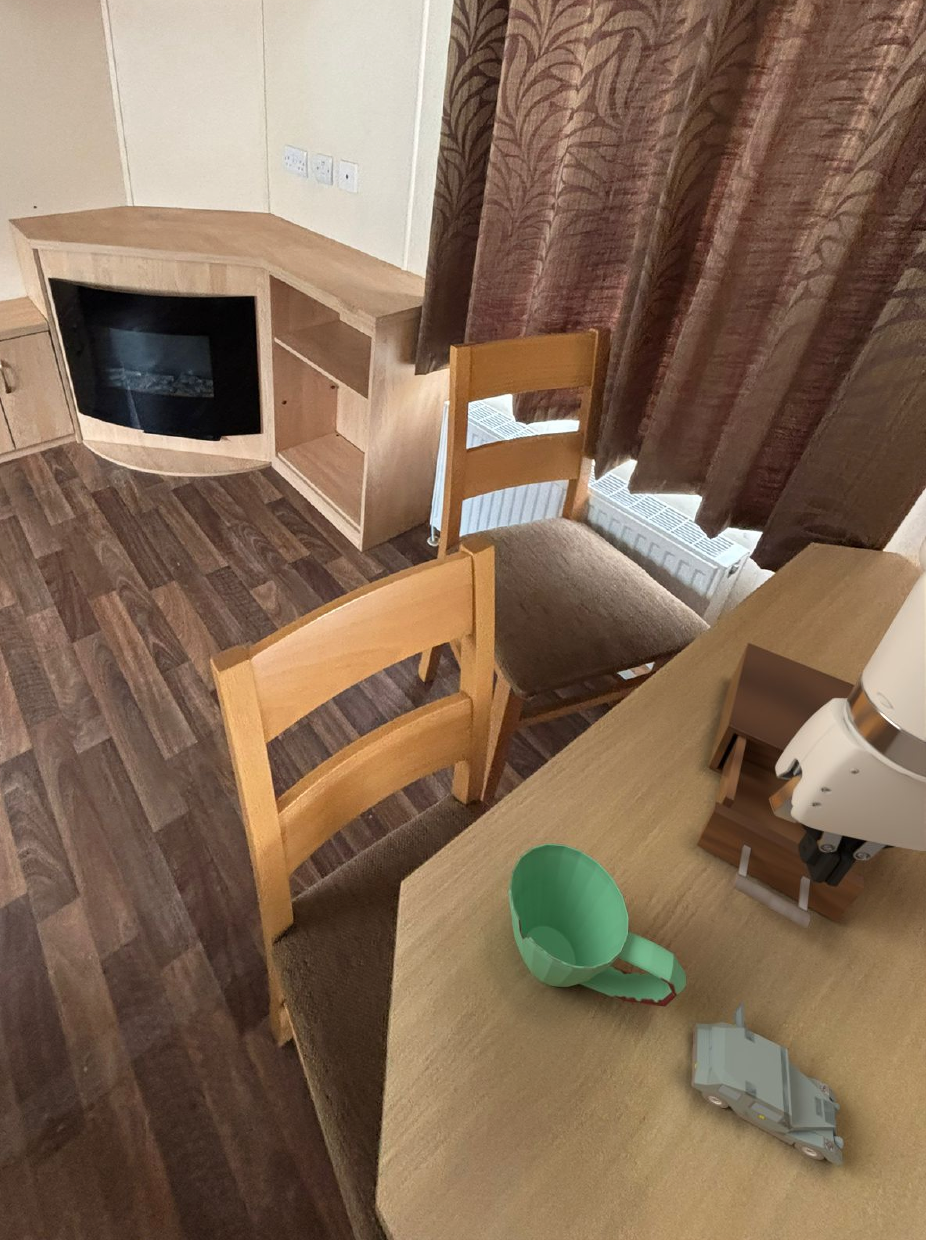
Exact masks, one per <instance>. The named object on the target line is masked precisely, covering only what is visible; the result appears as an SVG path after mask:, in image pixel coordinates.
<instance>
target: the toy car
mask: <svg viewBox="0 0 926 1240" xmlns="http://www.w3.org/2000/svg"><path fill="white" fill-rule="evenodd" d="M744 1008H745V1006H744V1003H743V1002H740V1004H739V1005H738V1007H737V1008H736V1009H735V1011H734V1012H733V1014H732V1015H733V1017H732V1018H733V1020H732V1021H733V1023H732V1024H731V1023H728V1022H724V1021H719V1022H718V1021H717V1022H712V1023H700V1022H695V1023H694V1025H693V1028H692V1044H693V1045H692V1055H691V1057H692V1058H691V1059H692V1060H691V1087H692V1088H694V1089H696V1090H697V1091H699V1092H701V1094H700V1095H701V1096H702V1098H703V1099H704V1100H705V1101H707V1102H708V1103H709V1104H711V1105H713V1106H715V1107H718V1108H720V1109H727V1108H729V1107H730V1108H731V1109H732V1111H733V1112H734V1113H735V1114H736V1115H737V1117H738V1118H740V1119H743V1120H744V1121H746V1122H748V1123H750V1124H751V1125H754V1126H755V1127H757V1128H759V1129H761V1130H762V1131H764V1132H766V1133H768V1134H770V1135H771V1136H773V1137H776V1138H777V1139H779V1140H781V1141H782V1142H784V1143H786V1144H788V1145H790V1146H794V1147H795V1149H796V1150H797V1151H798V1152H800V1153H801V1154H803V1155H805V1156H807V1157H808V1158H810V1159H813V1160H819V1161H821V1160H824V1159H826V1160H827V1161H828V1162H830V1163H832V1164H834V1165H835V1166H837V1167H840V1166H842V1165H843V1164H844V1163H843V1162H844V1161H843V1153H842V1150H844V1149H843V1148H844V1145H845V1144H844V1138H843V1137H842V1136H839V1135H838V1134H837V1120H836V1114H837V1115H840V1110H841V1107H840V1103H838V1102H837V1095H836V1093H835V1092H834V1090H833V1089H832V1088H831V1086H830V1085H828V1083H827V1084H826V1083H824V1082H822V1081H820V1080H819V1079H816V1078H813V1077H810V1076H806V1075H805V1074H804V1073H803V1072H802V1071H801V1070H800V1069H799V1068H798V1067H797V1066H796V1065H794V1063H793V1062H791V1060H789V1049H788V1048H786V1047H784V1046H782V1045H779V1044H777V1043H776V1042H773V1041H772V1040H769V1039H767V1038H765V1037H764V1036H762V1035H760V1034H757V1033H755V1032H754V1031H751V1030H750V1029H748V1028H747V1025H746V1022H745V1009H744Z"/></svg>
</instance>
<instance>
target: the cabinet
mask: <svg viewBox="0 0 926 1240" xmlns="http://www.w3.org/2000/svg"><path fill="white" fill-rule="evenodd" d="M854 685H855V684H853V683H851V682H848V681H845V680H843V679H840V678H838V677H835V676H833V675H830V674H827V673H826V672H823V671H820V670H818V669H816V668H813V667H810V666H808V665H805V664H803V663H800V662H798V661H795V660H793V659H790V658H788V657H785V656H783V655H781V654H778V653H775V652H773V651H770V650H769V649H765V648H763V647H761V646H758V645H755V644H753V643H751V642H748V643H747V644H746V646H745V649H744V651H743V653H742V654H741V658H740V659H739V662H738V664H737V666H736V669H735V670H734V672H733V675H732V677H731V679H730V682H729V684H728V688H727V691H726V694H725V699H724V703H723V708H722V711H721V715H720V720H719V723H718V727H717V731H716V734H715V738H714V742H713V746H712V750H711V755H710V759H709V762H708V765H707V769H708V770H711V771H712V772H715V773H717V774H719V775H720V776H721V775H722V771H723V767H724V762H725V758H726V754H727V750H728V748H729V746H730V744H731V742H732V740H733V738H734V736H735V734H737V735H739V736H742V737H744V738H746V739H748V740H750V741H752V742H755V743H757V744H759V745H761V746H763V747H765V748H768V749H770V750H772V751H774V752H776V753H778V754H780V755H782V753H783V752H784V750H785V749H786V747H787V746H788V744H789V743H790V742H791V740H792V739H793V738H794V736H795V735H796V734H797V732H798V731H799V730H800V729H801V727H802V726H803V725H804V724H805V723H806V722H807V721H808V720H809V719H810V718H811V717H812V715H813V714H815V713H816V712H817V711H818V710H819V709H820V708H821V707H823V706H824V705H825V704H826V703H828V702H829V701H831V700H832V699H833V698H845V699H847V697H848V695H849V694H850V692H851V690H852V689H853V687H854Z"/></svg>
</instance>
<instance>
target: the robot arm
mask: <svg viewBox="0 0 926 1240" xmlns="http://www.w3.org/2000/svg"><path fill="white" fill-rule="evenodd" d="M918 562H919V565H920V567H921V570H922V571H923V572H922V573H921V575H920V576H919V578H918V579H917V580H916V582H915V583H914V585H913V587H912V588H911V590H910V592H909V594H908V595H907V597H906V599H905V600H904V602H903V604H902V606H901V607H900V608H899V610H898V612H897V614H896V615H895V617H894V619H893V621H892V622H891V624H890V626H889V627H888V629H887V630H886V632H885V634H884V635H883V638H881V640H880V642H879V644H878V646H877V647H876V649H875V650H874V652H873V654H872V655H871V657H870V659H869V660H868V662H867V664H866V665H865V667H864V668H863V670H862V672H861V674H860V676H859V677H858V679H857V681H856V682H855V684H853V685H854V687H853V689H852V690H851V692H850V694H849V695H848V697H847V699H845V698H833V699H832V700H831V701H829V702H828V703H826V704H825V705H824V706H823V707H821V708H820V709H819V710H818V711H817V712H816V713H815V714H813V715H812V717H811V718H810V719H809V720H808V721H807V722H806V723H805V724H804V725H803V726H802V727H801V729H800V730H799V731H798V732H797V734H796V735H795V736H794V738H793V739H792V740H791V742H790V743H789V744H788V746H787V747H786V749H785V750H784V752H783V753H782V755H781V756H780V758H779V760H778V762H777V764H776V766H775V770H776V774H777V778H781V779H786V780H789V781H788V782H787V783H785V784H784V785H783V786H782V787H781V788H780V789H778V790H777V791H776V792H775V793H774V794H773V795H772V796H770V798H769V801H770V804H771V807H772V810H773V813H774V815H775V816H777V817H779V818H782V819H785V820H788V821H790V822H793V823H800V824H801V825H802V827H803V828H804V829H805V830H806V833H805V835H804V836H803V838H802V839H801V841H800V842H799V845H798V851H799V855H800V858H801V860H802V862H803V863H806V865H807V868H808V871H809V874H810V876H811V879H812V881H813V882H816V883H822V882H825V883H827V885H829V886H834V887H837V885H838V884H839V883H840V881H841V880H842V879H843V877H844V876H845V875H846V873H847V872H848V871H849V870H851V868H852V867H853V865H854V864H855V863H856V862H857V860H858V861H869V860H871V859H872V858H873V857H875V856H876V855H877V854H878V853H879V852H880V851H881V850H886V849H887V850H888V849H893V848H902V849H905V850H912V851H918V852H926V536H924V539H923V540H922V543H921V546H920V547H919V553H918Z"/></svg>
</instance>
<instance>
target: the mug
mask: <svg viewBox="0 0 926 1240" xmlns="http://www.w3.org/2000/svg"><path fill="white" fill-rule="evenodd" d="M507 895H508V901H509V908H510V914H511V915H510V917H511V924H512V930H513V937H514V941H515V943H516V946H517V949H518V952H519V953H520V955H521V957H522V960H523V961H524V963H525V965H526V967H527V968H528V970H529V971H530V972H531V974H532V976H534V977H535V979H536V978H537V979H538V981H540V982H541V983H543V984H545V985H547V986H550V987H557V988H558V987H560V988H561V987H562V988H568V987H573V986H576V985H581V986H583V987H586V988H588V989H592V990H594V991H597V992H599V993H602V994H604V995H607V996H609V997H612V998H613V999H617V1000H619V1001H621V1002H627V1003H628V1002H629V1003H634V1004H643V1005H649V1006H657V1007H663V1008H666V1007H667V1006H668V1005H669V1004H670V1003H671V1002H672V1001H673V1000H674V999H675V998H676V997H677V996H678V995H679V994H681V992H682V991H683V990H684V989H685V988H686V985H687V974H686V972H685V970H684V969H683V967H682V965H681V963H680V962H679V960H678V959H677V957H676V955H674V953H673V952H672V951H670V950H669V949H667V948H665V947H663V946H661V945H659V944H658V943H656V942H654V941H652V940H650V939H648V938H646V937H643V936H641V935H639V934H636V933H634V932H632V931H630V930H629V928H630V914H629V911H628V907H627V905H626V901H625V897H624V894H623V893H622V891H621V889H620V888H619V885H618V884H617V882H616V881H615V880H614V877H613V876H612V875H611V874H610V873H609V872H608V871H607V870H606V869H605V868H604V867H603V865H602V864H601V863H599V862H598V861H597V860H596V859H595V858H593V857H592V856H590V855H588V854H587V853H585V852H584V851H583V850H581V849H578V848H575V847H572V846H569V845H567V844H564V843H549V842H548V843H547V842H546V843H543V844H540V845H536V846H532V847H531V848H530V849H528V850H527V851H525V852H524V853H523V854H521V855H520V856H519V858H518V860H517V861H516V862H515V865H514V866H513V868H512V871H511V874H510V879H509V886H508V893H507ZM617 959H619V960H621V961H623V962H625V963H627V964H630V965H632V966H634V967H636V968H638V969H640V970H643V971H644V972H647V973H640V972H628V971H625V970H622V969H620V968H617V967H614V966H611V965H612V964H614V962H616V961H617Z"/></svg>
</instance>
